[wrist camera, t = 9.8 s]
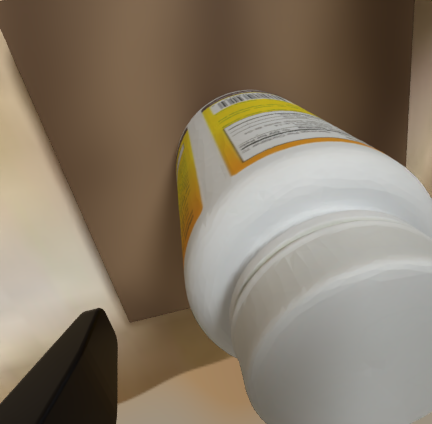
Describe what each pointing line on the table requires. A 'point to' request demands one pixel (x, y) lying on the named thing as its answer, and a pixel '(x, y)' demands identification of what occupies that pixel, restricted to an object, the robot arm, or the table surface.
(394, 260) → the supplement bottle
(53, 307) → the table surface
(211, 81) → the walnut block
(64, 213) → the table surface
